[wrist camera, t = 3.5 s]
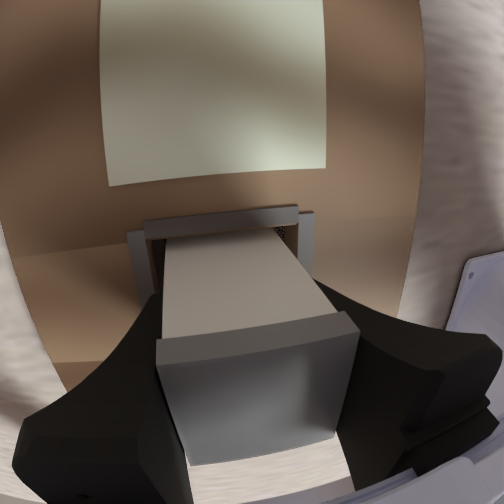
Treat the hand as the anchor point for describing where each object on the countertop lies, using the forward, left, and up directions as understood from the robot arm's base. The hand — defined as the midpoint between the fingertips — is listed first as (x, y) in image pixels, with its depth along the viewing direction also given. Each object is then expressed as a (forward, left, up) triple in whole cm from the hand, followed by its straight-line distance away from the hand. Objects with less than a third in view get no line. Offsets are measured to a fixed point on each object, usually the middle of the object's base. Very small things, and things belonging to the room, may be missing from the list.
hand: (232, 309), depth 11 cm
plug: (0, 0, -2) cm, 2 cm away
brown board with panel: (+4, 0, -2) cm, 5 cm away
